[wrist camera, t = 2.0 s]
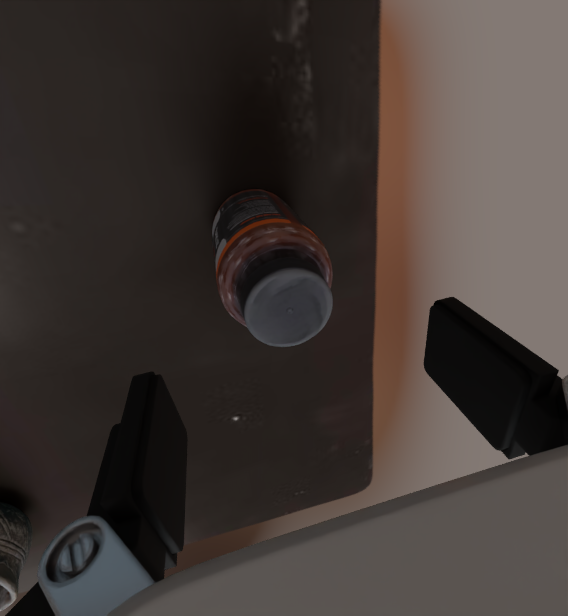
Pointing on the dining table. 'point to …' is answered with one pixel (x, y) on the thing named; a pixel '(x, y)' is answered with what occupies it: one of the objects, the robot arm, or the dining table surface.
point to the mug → (12, 550)
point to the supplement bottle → (271, 269)
